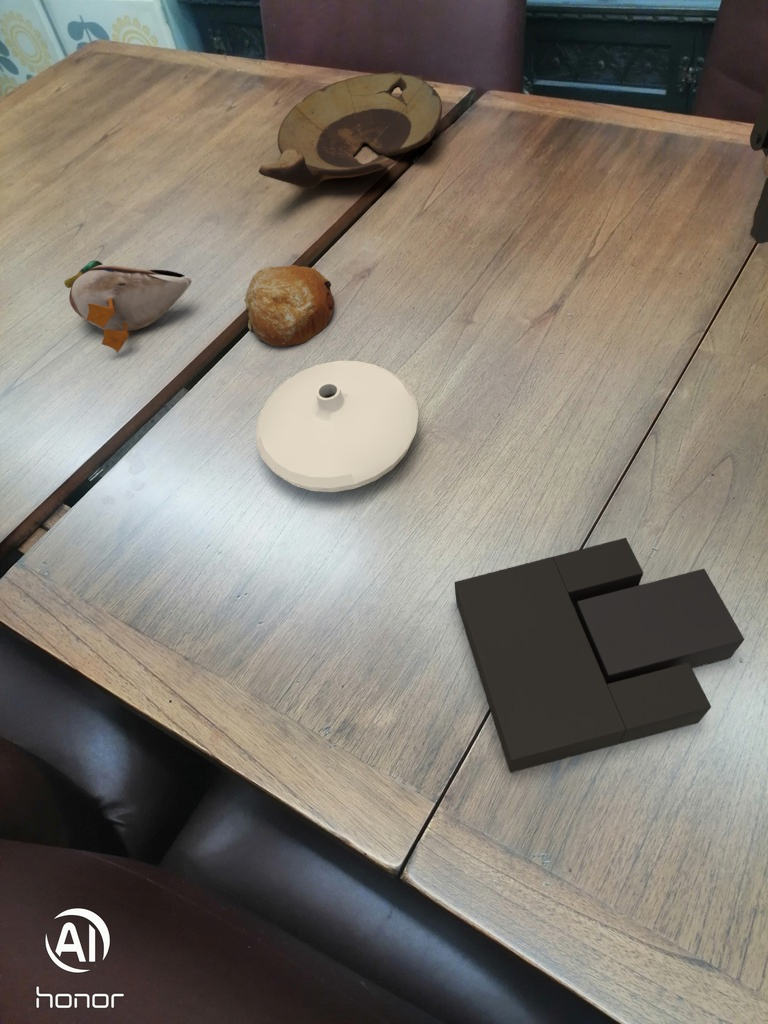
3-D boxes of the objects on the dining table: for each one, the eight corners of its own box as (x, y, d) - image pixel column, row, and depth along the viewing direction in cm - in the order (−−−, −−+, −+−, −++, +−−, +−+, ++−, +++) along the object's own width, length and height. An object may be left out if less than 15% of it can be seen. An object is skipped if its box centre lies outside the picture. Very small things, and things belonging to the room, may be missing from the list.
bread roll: (259, 329, 84) (214, 292, 78) (318, 268, 83) (278, 225, 76) (293, 376, 79) (248, 341, 73) (357, 312, 77) (317, 270, 71)
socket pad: (619, 559, 57) (626, 537, 54) (699, 722, 49) (712, 707, 46) (455, 601, 57) (454, 581, 54) (509, 772, 49) (511, 760, 46)
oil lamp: (481, 147, 94) (480, 88, 88) (291, 241, 88) (276, 184, 81) (391, 92, 106) (385, 35, 99) (218, 170, 99) (200, 116, 93)
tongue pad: (693, 589, 55) (704, 567, 52) (730, 658, 52) (745, 639, 49) (572, 620, 55) (576, 601, 52) (601, 692, 51) (608, 675, 49)
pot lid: (319, 365, 75) (305, 313, 69) (449, 410, 69) (446, 358, 63) (232, 471, 68) (207, 424, 62) (367, 531, 62) (355, 485, 56)
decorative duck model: (48, 247, 82) (167, 206, 83) (81, 300, 88) (193, 262, 89) (45, 314, 73) (180, 267, 73) (83, 369, 79) (208, 325, 79)
